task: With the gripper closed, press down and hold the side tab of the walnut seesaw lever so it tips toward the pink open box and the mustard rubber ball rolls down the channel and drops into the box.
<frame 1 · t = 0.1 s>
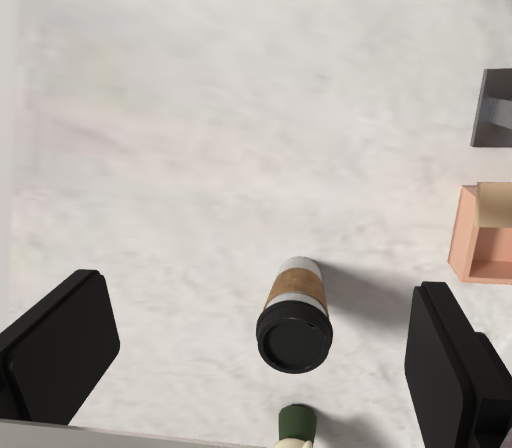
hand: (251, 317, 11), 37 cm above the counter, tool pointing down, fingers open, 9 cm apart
coffee cup: (299, 274, 52), on the counter
character mug: (297, 414, 63), on the counter
pink open box: (499, 226, 45), on the counter
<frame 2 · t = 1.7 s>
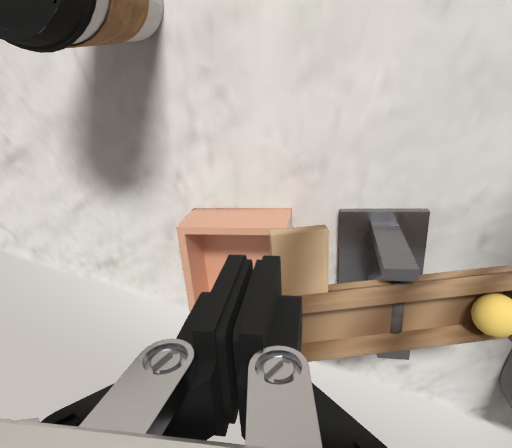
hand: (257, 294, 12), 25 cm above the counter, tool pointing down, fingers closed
pivot stand: (379, 255, 38), on the counter
coffee cup: (132, 4, 33), on the counter
lever: (398, 286, 28), point 10 cm above the counter, hinge at -15.0°, touching ball
ball: (495, 314, 28), point 9 cm above the counter, tilted 41°, touching lever
pink open box: (245, 253, 40), on the counter
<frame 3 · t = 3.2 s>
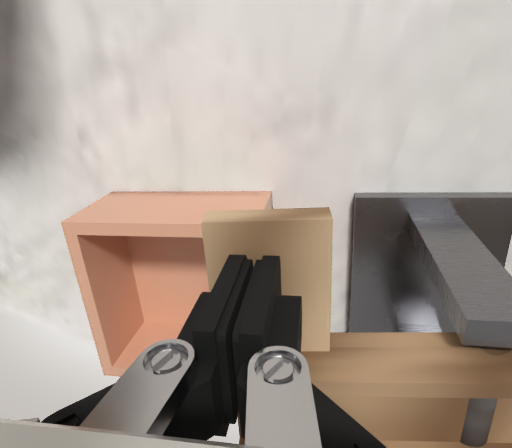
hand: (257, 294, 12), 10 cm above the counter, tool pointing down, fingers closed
pivot stand: (420, 273, 22), on the counter
lever: (491, 357, 12), point 10 cm above the counter, hinge at -5.9°, touching ball, gripper
pink open box: (198, 265, 25), on the counter
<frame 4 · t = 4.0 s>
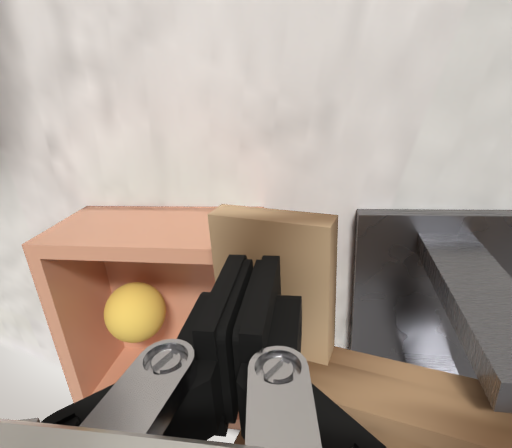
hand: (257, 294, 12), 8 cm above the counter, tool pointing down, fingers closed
pivot stand: (430, 297, 20), on the counter
ball: (135, 311, 20), point 3 cm above the counter, tilted 72°
pink open box: (183, 287, 22), on the counter
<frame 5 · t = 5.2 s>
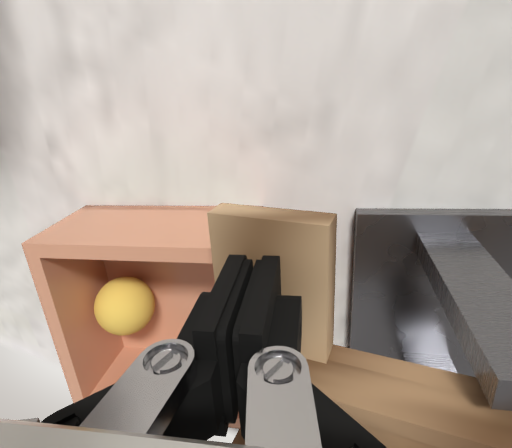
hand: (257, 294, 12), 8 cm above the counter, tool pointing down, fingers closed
pivot stand: (429, 297, 20), on the counter
ball: (125, 305, 21), point 2 cm above the counter, tilted 127°, touching pink open box
pink open box: (182, 286, 22), on the counter
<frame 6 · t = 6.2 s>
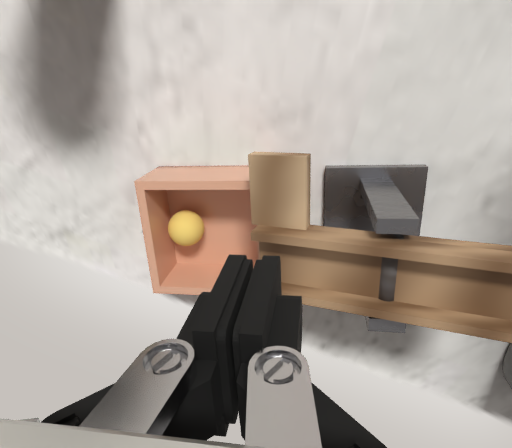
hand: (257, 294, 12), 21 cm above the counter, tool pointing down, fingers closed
pivot stand: (370, 221, 33), on the counter
lever: (387, 241, 23), point 10 cm above the counter, hinge at 13.8°
ball: (186, 228, 33), point 2 cm above the counter, tilted 120°, touching pink open box
pink open box: (218, 219, 35), on the counter
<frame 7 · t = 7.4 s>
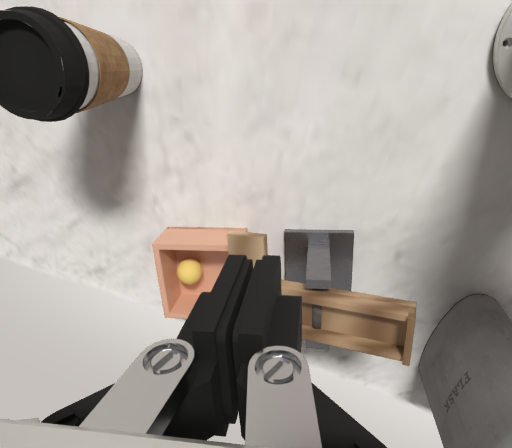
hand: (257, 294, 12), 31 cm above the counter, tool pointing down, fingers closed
pivot stand: (318, 266, 46), on the counter
coffee cup: (118, 67, 41), on the counter
lever: (313, 292, 37), point 10 cm above the counter, hinge at 13.8°
ball: (189, 271, 47), point 2 cm above the counter, tilted 111°, touching pink open box
flask: (453, 339, 48), on the counter
pink open box: (210, 263, 49), on the counter
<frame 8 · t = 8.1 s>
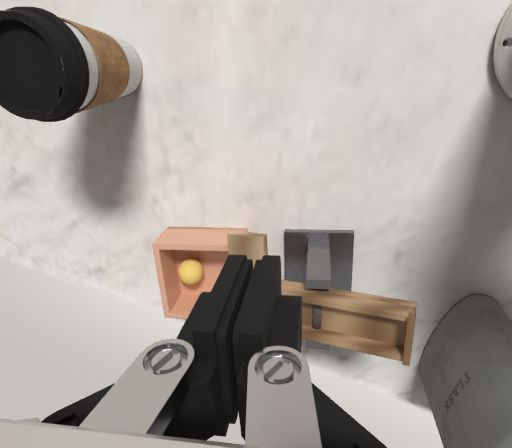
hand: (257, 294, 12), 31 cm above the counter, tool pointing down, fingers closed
pivot stand: (318, 266, 46), on the counter
coffee cup: (118, 67, 41), on the counter
lever: (313, 292, 37), point 10 cm above the counter, hinge at 13.8°
ball: (190, 271, 47), point 2 cm above the counter, tilted 106°, touching pink open box
flask: (453, 339, 48), on the counter
pink open box: (210, 263, 49), on the counter
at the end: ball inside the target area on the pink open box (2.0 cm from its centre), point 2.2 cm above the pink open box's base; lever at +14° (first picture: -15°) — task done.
